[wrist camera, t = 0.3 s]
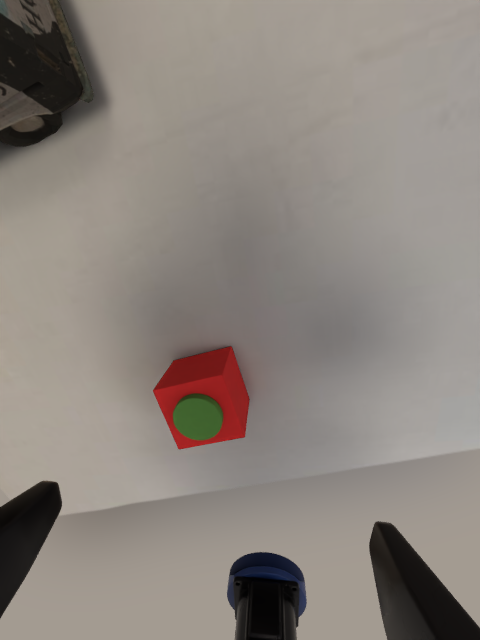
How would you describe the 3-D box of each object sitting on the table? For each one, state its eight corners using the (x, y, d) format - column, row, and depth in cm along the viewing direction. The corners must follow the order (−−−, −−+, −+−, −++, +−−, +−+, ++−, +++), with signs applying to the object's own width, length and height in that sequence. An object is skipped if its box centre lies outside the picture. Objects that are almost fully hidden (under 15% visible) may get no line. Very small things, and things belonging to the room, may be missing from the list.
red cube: (249, 399, 24) (244, 444, 19) (194, 411, 25) (175, 456, 20) (231, 346, 22) (220, 379, 18) (173, 360, 23) (148, 395, 19)
